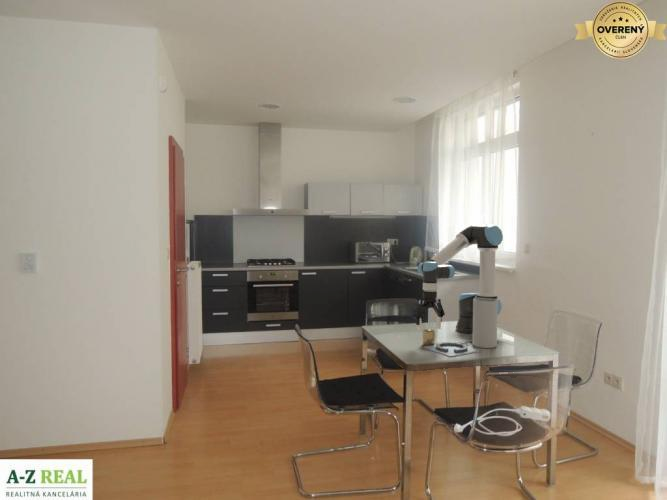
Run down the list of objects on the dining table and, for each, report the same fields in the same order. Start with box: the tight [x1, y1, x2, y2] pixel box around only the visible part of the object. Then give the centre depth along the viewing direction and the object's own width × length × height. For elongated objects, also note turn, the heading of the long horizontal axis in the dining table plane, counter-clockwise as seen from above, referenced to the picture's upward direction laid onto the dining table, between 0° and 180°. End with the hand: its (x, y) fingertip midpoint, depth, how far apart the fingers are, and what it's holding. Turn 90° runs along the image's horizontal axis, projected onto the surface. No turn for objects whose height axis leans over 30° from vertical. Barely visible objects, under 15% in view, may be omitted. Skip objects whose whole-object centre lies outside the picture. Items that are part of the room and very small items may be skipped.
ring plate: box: [423, 344, 481, 358], centre depth 258 cm, size 20×20×1 cm
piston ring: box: [435, 341, 469, 353], centre depth 257 cm, size 16×16×2 cm
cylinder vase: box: [472, 298, 498, 349], centre depth 265 cm, size 12×12×25 cm
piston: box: [422, 328, 436, 347], centre depth 267 cm, size 6×6×8 cm
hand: (428, 329), depth 266 cm, fingers open, 13 cm apart
